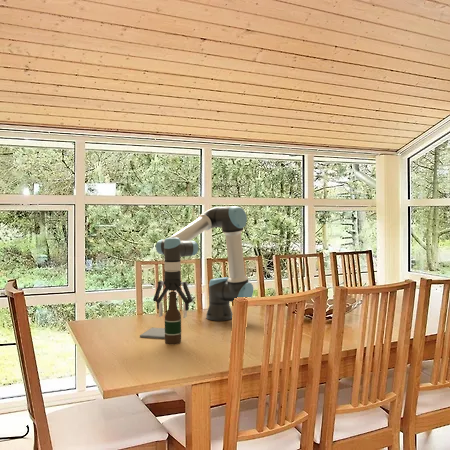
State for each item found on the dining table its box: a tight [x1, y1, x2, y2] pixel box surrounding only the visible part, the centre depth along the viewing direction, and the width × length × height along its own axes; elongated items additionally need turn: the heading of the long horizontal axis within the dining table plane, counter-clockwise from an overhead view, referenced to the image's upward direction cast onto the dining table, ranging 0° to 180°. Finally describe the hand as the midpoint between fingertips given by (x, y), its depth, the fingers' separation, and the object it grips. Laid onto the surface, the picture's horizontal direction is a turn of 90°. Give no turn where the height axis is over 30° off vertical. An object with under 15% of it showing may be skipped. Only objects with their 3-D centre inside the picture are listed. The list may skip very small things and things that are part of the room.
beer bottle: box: [164, 290, 182, 346], centre depth 224 cm, size 8×8×24 cm
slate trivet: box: [139, 327, 165, 340], centre depth 240 cm, size 16×16×1 cm
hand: (172, 316), depth 224 cm, fingers open, 11 cm apart
